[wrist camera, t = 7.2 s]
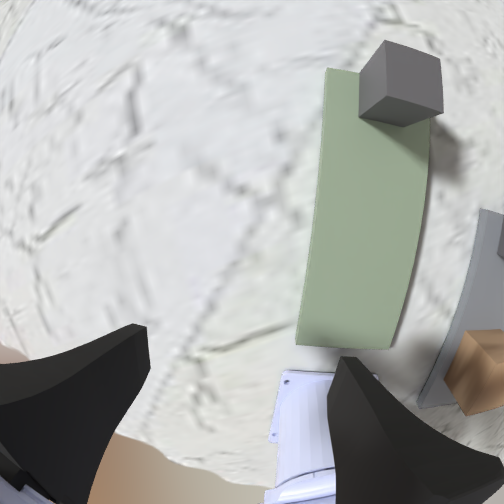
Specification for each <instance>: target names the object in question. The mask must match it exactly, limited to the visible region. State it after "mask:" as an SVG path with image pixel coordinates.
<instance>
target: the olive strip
mask: <svg viewBox="0 0 504 504" xmlns="http://www.w3.org/2000/svg"><path fill="white" fill-rule="evenodd" d="M442 113H444V108H443V86H442V74H441V64H440V59H439V58H437V57H434V56H432V55H429V54H427V53H424V52H421V51H418V50H416V49H413V48H410V47H407V46H404V45H400V44H397V43H394V42H390V41H387V40H384V41H383V43H382V44H381V45H380V47H379V48H378V49H377V51H376V52H375V53H374V55H373V56H372V57H371V59H370V60H369V61H368V62H367V64H366V65H365V66H364V68H363V69H362V70H361V72H360V73H355V72H350V71H345V70H339V69H333V68H327V70H326V72H325V88H324V108H323V124H322V138H321V150H320V162H319V172H318V183H317V192H316V201H315V210H314V218H313V227H312V234H311V242H310V249H309V257H308V264H307V270H306V277H305V283H304V290H303V296H302V302H301V308H300V314H299V320H298V325H297V331H296V336H295V340H296V345H305V346H318V347H333V348H352V349H389V347H390V344H391V341H392V339H393V336H394V333H395V330H396V326H397V323H398V320H399V317H400V314H401V310H402V307H403V303H404V300H405V296H406V292H407V289H408V285H409V281H410V277H411V273H412V268H413V264H414V259H415V255H416V250H417V245H418V240H419V234H420V228H421V222H422V216H423V209H424V202H425V194H426V185H427V175H428V163H429V146H430V118H431V117H434V116H436V115H439V114H442Z"/></svg>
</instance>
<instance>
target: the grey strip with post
mask: <svg viewBox="0 0 504 504" xmlns="http://www.w3.org/2000/svg"><path fill="white" fill-rule="evenodd" d="M492 329H501V330H502V331H503V332H504V215H502V214H499V213H496V212H493V211H489V210H486V209H481V208H480V215H479V221H478V227H477V233H476V238H475V243H474V248H473V253H472V257H471V261H470V266H469V270H468V273H467V277H466V281H465V284H464V288H463V291H462V295H461V298H460V301H459V304H458V307H457V310H456V313H455V316H454V319H453V322H452V325H451V327H450V330H449V333H448V335H447V338H446V340H445V343H444V345H443V348H442V350H441V352H440V355H439V357H438V359H437V361H436V364H435V366H434V368H433V370H432V372H431V374H430V376H429V378H428V380H427V382H426V384H425V386H424V388H423V390H422V392H421V394H420V396H419V398H418V400H417V402H416V403H417V405H418V407H419V409H422V408H429V407H436V406H443V405H449V404H455V403H458V402H457V401H456V399H455V398H454V396H453V394H452V393H451V391H450V389H449V388H448V386H447V385H446V383H445V382H444V380H443V379H444V377H445V375H446V373H447V371H448V369H449V367H450V365H451V363H452V361H453V358H454V356H455V354H456V352H457V349H458V347H459V345H460V342H461V340H462V338H463V335H464V333H465V331H466V330H492Z"/></svg>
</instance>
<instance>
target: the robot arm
mask: <svg viewBox="0 0 504 504" xmlns="http://www.w3.org/2000/svg"><path fill="white" fill-rule="evenodd" d="M150 369H151V367H150V358H149V348H148V337H147V327H145V326H141V325H137V324H130V325H127V326H125V327H122V328H120V329H118V330H116V331H114V332H111V333H109V334H107V335H105V336H103V337H100V338H98V339H96V340H94V341H92V342H89V343H87V344H84V345H82V346H79V347H77V348H74V349H71V350H69V351H66V352H63V353H60V354H57V355H53V356H50V357H46V358H42V359H37V360H32V361H26V362H20V363H10V364H0V504H54V503H56V504H87V502H88V498H89V494H90V490H91V487H92V484H93V481H94V478H95V475H96V472H97V469H98V467H99V464H100V462H101V459H102V457H103V454H104V452H105V450H106V448H107V445H108V443H109V441H110V439H111V437H112V435H113V433H114V431H115V429H116V428H117V426H118V424H119V423H120V421H121V420H122V418H123V417H124V415H125V414H126V412H127V410H128V409H129V407H130V406H131V404H132V403H133V401H134V400H135V398H136V396H137V395H138V393H139V392H140V390H141V388H142V386H143V384H144V382H145V380H146V378H147V375H148V373H149V371H150ZM285 380H289V382H285ZM268 441H269V442H271V443H278V454H277V469H276V483H275V489H271V490H266V491H265V496H264V503H259V504H482V503H483V502H484V501H486V500H487V499H488V498H489V497H491V496H492V495H493V494H494V493H495V492H496V491H497V490H499V488H501V487H502V485H503V484H504V466H503V464H502V462H501V460H500V458H499V457H496V456H492V455H489V454H486V453H483V452H479V451H476V450H474V449H471V448H469V447H467V446H464V445H462V444H460V443H458V442H456V441H454V440H452V439H450V438H448V437H446V436H445V435H443V434H441V433H440V432H438V431H436V430H435V429H433V428H432V427H430V426H429V425H427V424H426V423H424V422H423V421H422V420H420V419H419V418H418V417H416V416H415V415H414V414H413V413H411V412H410V411H409V410H408V409H407V408H406V407H404V406H403V405H402V404H401V403H400V402H399V401H398V400H397V399H396V398H395V397H394V396H393V395H392V394H391V393H390V392H389V391H388V390H387V389H386V388H385V387H384V386H383V385H382V384H381V383H380V382H379V378H378V375H376V374H372V373H371V372H370V371H369V370H368V369H367V368H366V367H365V366H364V365H363V364H362V362H361V361H360V360H359V359H358V358H357V357H343V356H341V357H340V360H339V363H338V366H337V369H336V372H335V373H319V372H304V371H291V370H286V371H284V372H283V373H282V376H281V381H280V386H279V391H278V396H277V401H276V406H275V410H274V415H273V420H272V424H271V429H270V433H269V438H268ZM49 500H51V501H52V502H54V503H52V502H51V501H49Z"/></svg>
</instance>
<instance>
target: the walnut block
mask: <svg viewBox="0 0 504 504" xmlns="http://www.w3.org/2000/svg"><path fill="white" fill-rule="evenodd" d="M443 380H444V382H445V383H446V385H447V386H448V388H449V389H450V391H451V393H452V394H453V396H454V398H455V399H456V401H457V402H458V404H459V406H460V407H461V409H462V411H463V413H464V414H465V416H470V415H474V414H477V413H481V412H485V411H488V410H492V409H495V408H498V407H501V406H503V405H504V332H503V331H502V330H501V329H492V330H466V331H465V333H464V335H463V338H462V340H461V342H460V345H459V347H458V349H457V352H456V354H455V356H454V358H453V361H452V363H451V365H450V367H449V369H448V371H447V373H446V375H445V377H444V379H443Z"/></svg>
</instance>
